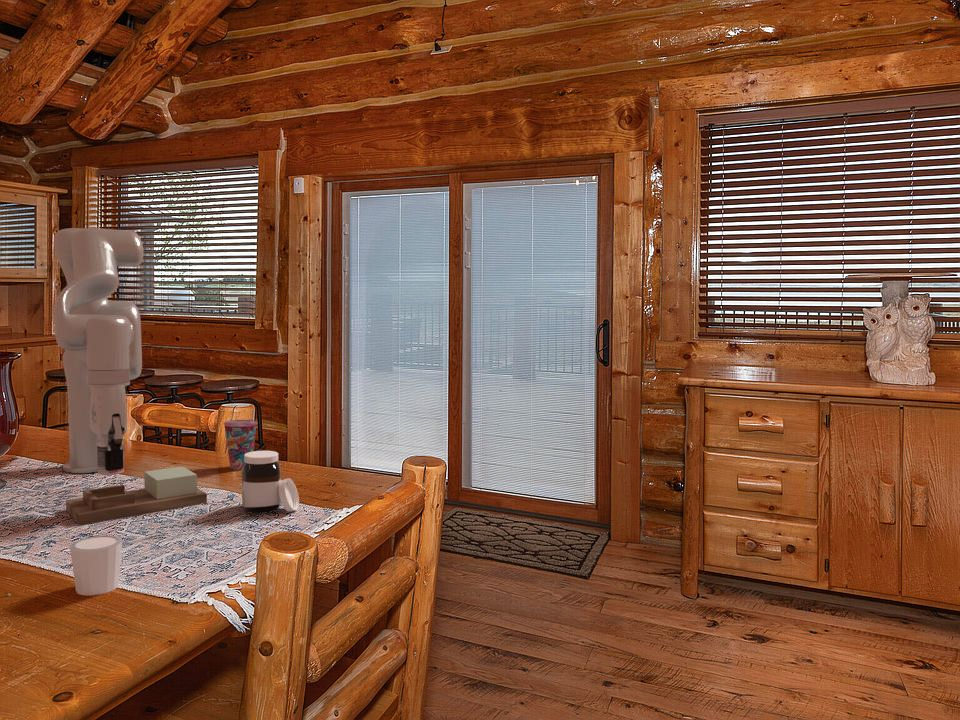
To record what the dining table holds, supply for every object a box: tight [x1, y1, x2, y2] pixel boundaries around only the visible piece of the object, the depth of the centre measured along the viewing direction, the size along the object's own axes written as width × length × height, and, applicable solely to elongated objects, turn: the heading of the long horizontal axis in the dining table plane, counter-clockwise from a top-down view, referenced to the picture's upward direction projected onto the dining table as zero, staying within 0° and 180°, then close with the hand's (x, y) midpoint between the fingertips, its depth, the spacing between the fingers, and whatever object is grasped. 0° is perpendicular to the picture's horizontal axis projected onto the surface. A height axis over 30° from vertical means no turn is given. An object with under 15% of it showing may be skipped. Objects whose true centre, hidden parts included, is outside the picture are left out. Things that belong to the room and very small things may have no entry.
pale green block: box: [143, 466, 198, 499], centre depth 146 cm, size 9×8×4 cm
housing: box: [65, 484, 208, 526], centre depth 142 cm, size 12×24×4 cm, turn 132°
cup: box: [223, 419, 259, 471], centre depth 175 cm, size 9×8×12 cm
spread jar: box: [241, 450, 300, 514], centre depth 142 cm, size 12×11×12 cm
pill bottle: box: [97, 432, 125, 476], centre depth 137 cm, size 5×5×8 cm
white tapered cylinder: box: [69, 535, 123, 596], centre depth 102 cm, size 7×7×7 cm
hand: (110, 466), depth 138 cm, fingers closed on pill bottle, 4 cm apart
